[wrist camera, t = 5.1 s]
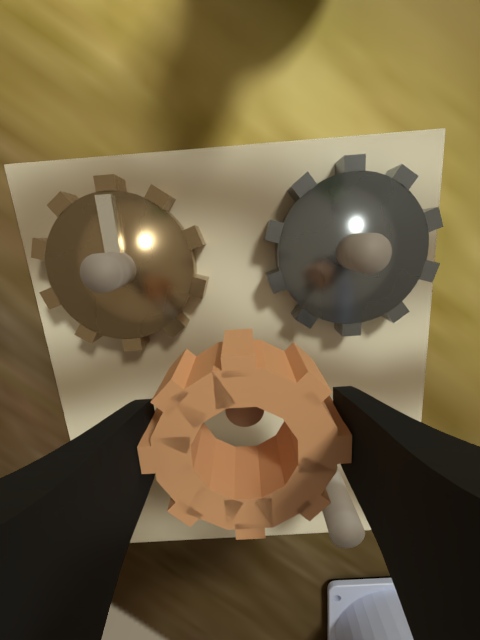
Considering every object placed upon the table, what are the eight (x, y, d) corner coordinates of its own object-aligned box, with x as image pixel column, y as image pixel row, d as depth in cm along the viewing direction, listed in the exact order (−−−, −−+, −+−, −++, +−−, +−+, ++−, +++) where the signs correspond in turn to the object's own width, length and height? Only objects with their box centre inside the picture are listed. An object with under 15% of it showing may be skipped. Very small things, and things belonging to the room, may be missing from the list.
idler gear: (327, 475, 12) (349, 534, 9) (170, 484, 12) (153, 543, 10) (329, 323, 10) (354, 348, 8) (149, 334, 10) (122, 362, 8)
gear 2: (418, 323, 14) (434, 330, 13) (268, 333, 15) (270, 341, 13) (430, 155, 13) (450, 146, 11) (259, 169, 13) (261, 162, 12)
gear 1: (215, 337, 15) (211, 348, 13) (68, 346, 15) (48, 359, 13) (199, 174, 13) (193, 165, 11) (33, 187, 13) (5, 180, 11)
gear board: (401, 509, 19) (461, 610, 14) (104, 525, 19) (55, 629, 14) (428, 137, 14) (538, 77, 9) (23, 170, 14) (-99, 132, 9)
